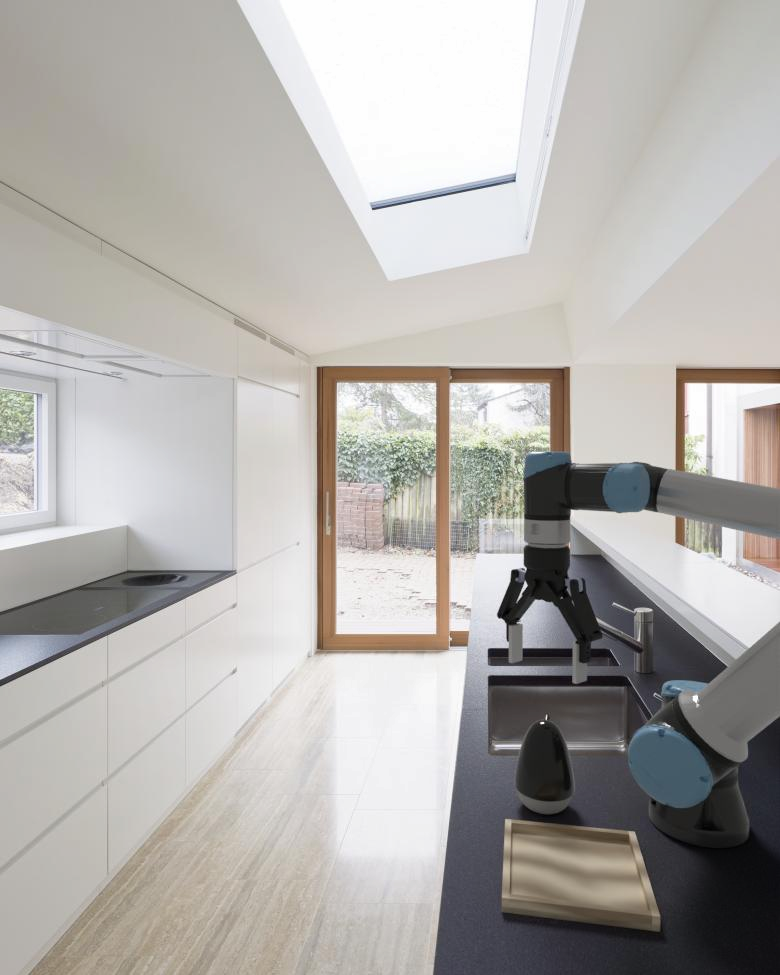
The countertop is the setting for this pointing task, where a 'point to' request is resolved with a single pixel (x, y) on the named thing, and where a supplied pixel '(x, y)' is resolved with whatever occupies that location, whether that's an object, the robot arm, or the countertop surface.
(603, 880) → the birch tray
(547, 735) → the pump dispenser
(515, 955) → the countertop surface
